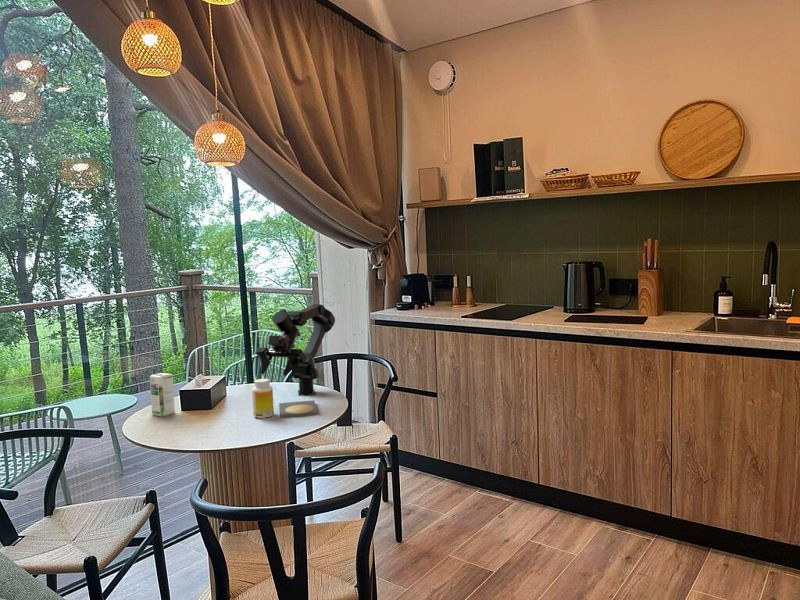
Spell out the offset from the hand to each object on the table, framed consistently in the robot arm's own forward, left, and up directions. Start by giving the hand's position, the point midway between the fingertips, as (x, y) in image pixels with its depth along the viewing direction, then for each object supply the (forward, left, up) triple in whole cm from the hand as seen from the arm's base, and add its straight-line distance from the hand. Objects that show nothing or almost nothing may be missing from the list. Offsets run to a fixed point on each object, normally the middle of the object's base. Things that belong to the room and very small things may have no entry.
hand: (272, 374), depth 210 cm
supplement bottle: (+6, -4, -13) cm, 15 cm away
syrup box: (-8, -39, -13) cm, 42 cm away
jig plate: (+3, +8, -13) cm, 16 cm away
